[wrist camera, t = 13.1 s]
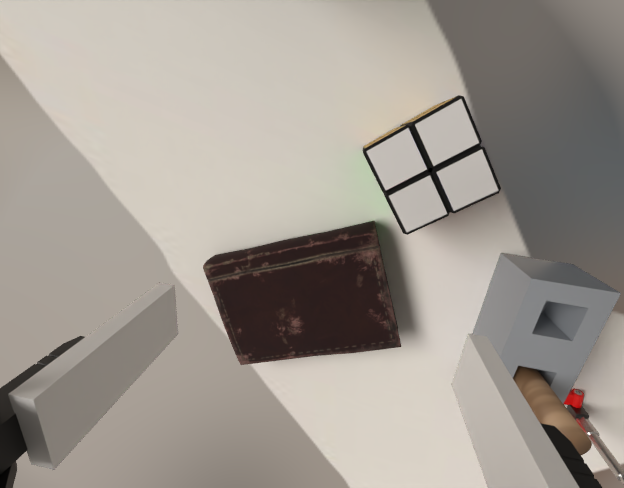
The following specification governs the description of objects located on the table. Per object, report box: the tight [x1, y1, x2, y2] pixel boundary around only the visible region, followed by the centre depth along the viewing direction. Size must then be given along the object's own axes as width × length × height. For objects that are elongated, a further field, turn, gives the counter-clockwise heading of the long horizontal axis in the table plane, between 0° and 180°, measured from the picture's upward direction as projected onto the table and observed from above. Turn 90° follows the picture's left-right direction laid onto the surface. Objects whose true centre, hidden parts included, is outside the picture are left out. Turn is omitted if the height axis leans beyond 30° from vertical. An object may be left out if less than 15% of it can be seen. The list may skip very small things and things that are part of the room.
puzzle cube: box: [363, 96, 501, 234], centre depth 35 cm, size 10×10×10 cm
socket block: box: [473, 253, 621, 404], centre depth 40 cm, size 18×9×8 cm, turn 173°
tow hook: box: [564, 389, 624, 484], centre depth 42 cm, size 8×13×9 cm
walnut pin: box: [513, 366, 592, 455], centre depth 37 cm, size 3×3×14 cm
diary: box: [203, 221, 401, 365], centre depth 46 cm, size 19×25×5 cm
